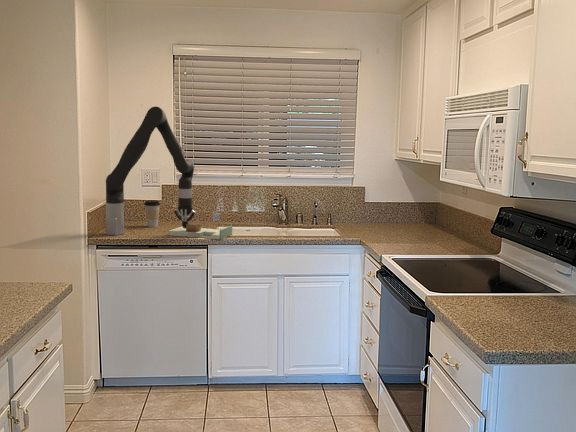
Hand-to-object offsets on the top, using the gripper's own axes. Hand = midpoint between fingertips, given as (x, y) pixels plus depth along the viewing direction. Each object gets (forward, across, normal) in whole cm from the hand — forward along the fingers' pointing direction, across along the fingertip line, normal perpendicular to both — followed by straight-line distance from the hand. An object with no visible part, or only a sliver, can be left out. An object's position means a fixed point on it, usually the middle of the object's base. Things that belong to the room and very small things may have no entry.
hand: (185, 228), depth 325 cm
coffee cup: (+4, -30, +18) cm, 35 cm away
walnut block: (+1, +5, 0) cm, 5 cm away
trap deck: (+4, +7, +4) cm, 9 cm away
